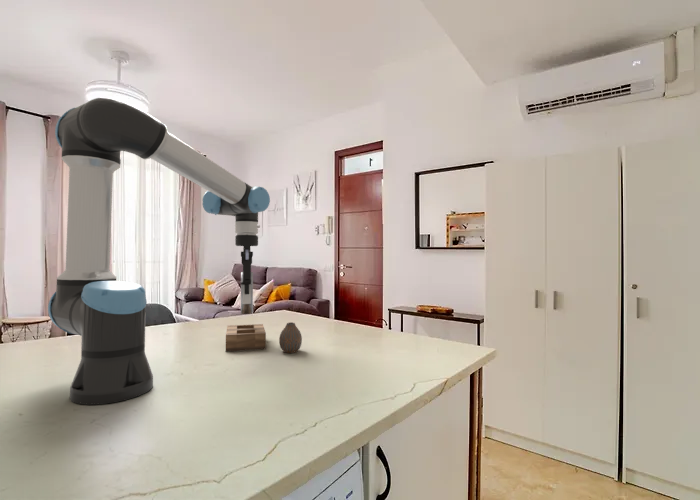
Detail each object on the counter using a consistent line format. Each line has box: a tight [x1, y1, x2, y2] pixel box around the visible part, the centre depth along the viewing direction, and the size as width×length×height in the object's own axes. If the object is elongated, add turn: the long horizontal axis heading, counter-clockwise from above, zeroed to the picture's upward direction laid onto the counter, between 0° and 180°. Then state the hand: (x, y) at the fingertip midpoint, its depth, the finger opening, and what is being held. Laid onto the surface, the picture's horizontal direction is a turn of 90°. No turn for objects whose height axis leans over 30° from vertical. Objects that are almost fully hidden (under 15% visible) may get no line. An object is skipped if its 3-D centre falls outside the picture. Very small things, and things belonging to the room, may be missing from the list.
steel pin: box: [240, 271, 254, 315], centre depth 129 cm, size 4×4×14 cm
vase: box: [278, 321, 303, 354], centre depth 116 cm, size 7×7×9 cm
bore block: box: [225, 323, 267, 352], centre depth 125 cm, size 16×12×5 cm
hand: (246, 302), depth 129 cm, fingers closed on steel pin, 4 cm apart
